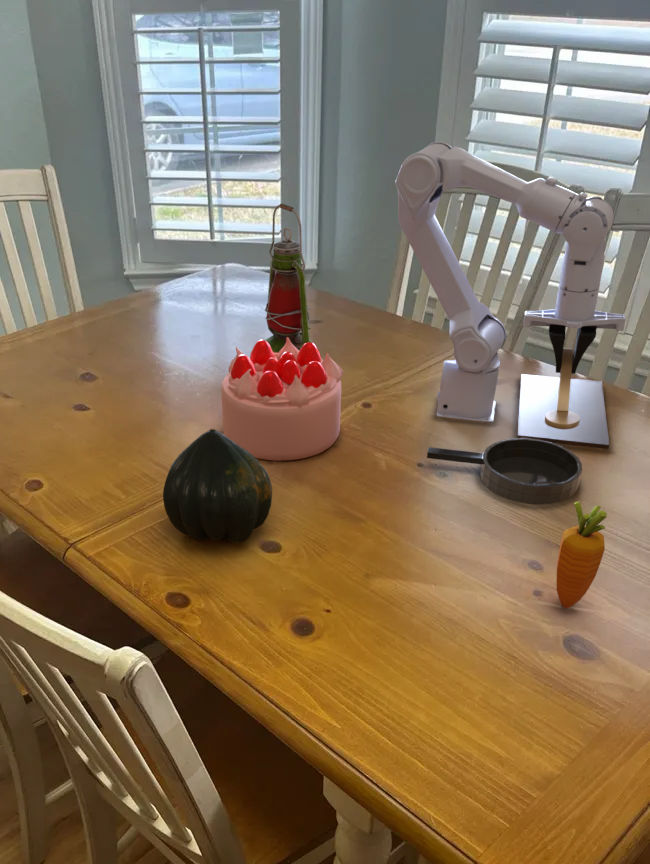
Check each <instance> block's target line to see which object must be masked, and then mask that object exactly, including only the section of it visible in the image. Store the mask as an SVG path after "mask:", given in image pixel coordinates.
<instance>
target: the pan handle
mask: <svg viewBox="0 0 650 864" xmlns="http://www.w3.org/2000/svg"><path fill="white" fill-rule="evenodd" d="M483 453H484V452H477V451H465V450H457V449H450V448H449V449H447V448H440V447H432V446H428V448H427V452H426V458H427V459H431V460H439V461H449V462H458V463H466V464H474V465H481V464H482V459H483Z"/></svg>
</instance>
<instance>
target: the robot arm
mask: <svg viewBox="0 0 650 864" xmlns="http://www.w3.org/2000/svg"><path fill="white" fill-rule="evenodd" d="M557 182H558V179H557V178H554V177H553V176H549V177H547V179H544V178H542V177H538V178H535V179H534V180H531V181H526V180H523V179H522V178H520V177H517V176H516V175H514V174H512V173H510V172H508V171H506V170H504V169H502V168H500V167H498V166H496V165H494V164H493V163H490V162H489V161H486V160H484V159H482V158H480V157H478V156H476V155H474V154H472V153H470V152H469V151H467V150H466V149H463V148H462V147H459V146H453V147H452V146H451V145H450V144H448V143H447V142H444V141H433V142H431V143H429V144H428V145H426V146H425V147H424V148H423V149H421V150H419V151H417V152H414V153H412V154H410V155H409V156H407V157H406V159H404V160H403V162H402V164H401V166H400V168H399V171H398V174H397V176H396V179H395V182H394V185H395V187H396V189H397V219H398V223H399V226H400V228H401V231H402V232H403V234H404V236H405V238H406V240H407V241H408V244H409V245H410V247H411V249H412V252H413V253H414V255H415V257H416V259H417V260H418V263H419V264H420V267H421V268H422V270H423V272H424V274H425V276H426V279H428V282H429V283H430V285H431V287H432V289H433V291H434V293H435V295H436V297H437V298H438V301H439V303H440V304H441V306H442V309H443V310H444V312H445V314H446V316H447V318H448V320H449V338H450V340H451V342H452V345H453V357H454V359H451V360H444V361H443V365H442V370H441V377H440V385H439V386H440V387H439V391H438V392H437V399H436V402H438V403H437V411H436V416H437V417H439V418H449V419H458V420H466V421H475V422H477V421H478V422H486V423H493V422H494V421H495V410H496V404H497V403H496V401H495V396H496V390H497V384H498V378H499V372H500V365H501V360H500V358H499V353H498V351H499V350H500V349H502V348H503V346H504V345H505V343H506V340H507V329H506V327H505V325H504V324H503V323H502V321H501V320H499V319H498V318H496V317H495V316H494V315H493V313H492V312H491V310H490V308H489V307H488V306H487V305H485V304H484V303H482V302H481V301H479V299H478V298H477V295H476V293H475V292H474V290H473V287H472V286H471V283H470V281H469V280H468V278H467V276H466V274H465V272H464V270H463V268H462V266H461V263H460V262H459V260H458V258H457V256H456V253H454V249H452V246H451V244H450V242H449V240H448V239H447V236H446V235H445V233H444V231H443V228H442V226H441V225H440V222H439V220H438V219H437V217H436V211H437V209H438V206H439V202H440V200H441V197H442V194H443V192H445V191H450V190H453V189H459V188H462V187H468V188H471V189H474V190H477V191H479V192H482V193H485V194H487V195H490V196H493V197H495V198H498V199H500V200H503V201H505V202H508V203H511V204H513V205H515V207H516V209H517V212H518V215H519V216H520V218H522V219H525V220H526V221H528V222H531V223H533V224H536V225H538V226H540V227H542V228H545V229H547V230H549V231H551V232H554V233H555V234H558V235H563V237H564V241H565V242H566V246H565V250H564V254H563V256H562V263H561V269H560V277H559V284H558V290H557V296H556V303H555V308H553V309H541V310H525V311H524V317H523V326H522V327H523V328H531V327H548V338H549V340H550V343H551V346H552V349H553V353H554V358H555V373H556V374H560V371H561V364H562V352H563V348H565V347H564V346H565V340H566V330H567V329H577V331H576V337H575V343H574V348H573V349H574V350H573V361H572V373H571V375H572V374H573V375H574V374H576V372H577V369H578V367H579V364H580V362H581V360H582V358H583V356H584V354H585V353H586V351H587V350H588V349H589V347H590V345H591V344H592V343H593V342H594V341H595V339H596V336H597V329H602V330H603V329H606V330H607V329H608V330H615V331H618V332H619V331H620V332H624V330H625V325H626V321H627V317H626V314H625V313H613V312H606V311H599V310H596V309H597V303H598V298H599V291H600V286H601V279H602V274H603V269H604V264H605V258H606V255H605V251H606V249H607V238H608V237H607V235H608V233H609V231H610V229H611V227H612V225H613V223H614V218H615V217H614V216H615V215H614V211H613V207H612V206H611V204H610V203H609V202H608V201H606V200H604V199H603V198H602V197H601V196H590V197H588V196H589V195H588V193H585V192H583V191H581V192H580V193H576V192H575V191H572V190H570V189H567V188H565V187H563V186H560V185H559V184H557Z"/></svg>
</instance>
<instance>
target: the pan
mask: <svg viewBox="0 0 650 864" xmlns="http://www.w3.org/2000/svg"><path fill="white" fill-rule="evenodd" d="M482 453H483V459H482V464H480V471H479V477H480V479H481V482H482V484H484V486H485V487H486V488H487V489H488V490H489V491H491V492H493V493H494V494H496V495H498V496H500V497H502V498H504V499H507V500H510V501H513V502H516V503H522V504H523V503H524V504H529V505H551V504H556V503H561V502H564V501H565V500H568V499H570V498H571V497H572V496H574V495H575V494H576V493H577V490H578V489H579V485H580V481H581V478H582V473H583V463H582V462H581V460H580V458H579V456H577V455H576V454H575V453H574V452H572V451H571V450H569V449H568V448H566V447H565V446H562V445H561V444H557V443H552V442H548V441H544V440H539V439H531V438H517V437H513V438H505V439H502V440H499V441H496V442H494V443H492V444H490V445H488V446H487V447H486V448H485V450H484V451H483V452H482Z"/></svg>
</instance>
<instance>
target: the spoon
mask: <svg viewBox="0 0 650 864" xmlns="http://www.w3.org/2000/svg"><path fill="white" fill-rule="evenodd" d="M574 349H575V348H565V347H563V352H562V364H561V371H560V373H559V378H560V380H559V391H558V402H557V410H553V411H549V412H548V413H546V415H545V423H546V424H547V425H548V426H550V427H553V428H556V429H572V428H575V427H577V426H578V425H579V422H580V417H579V415H578V414H576V413H574V412H571V411H568V408H569V396H570V385H571V379H572V374H571V373H572V361H573V353H574Z"/></svg>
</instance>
